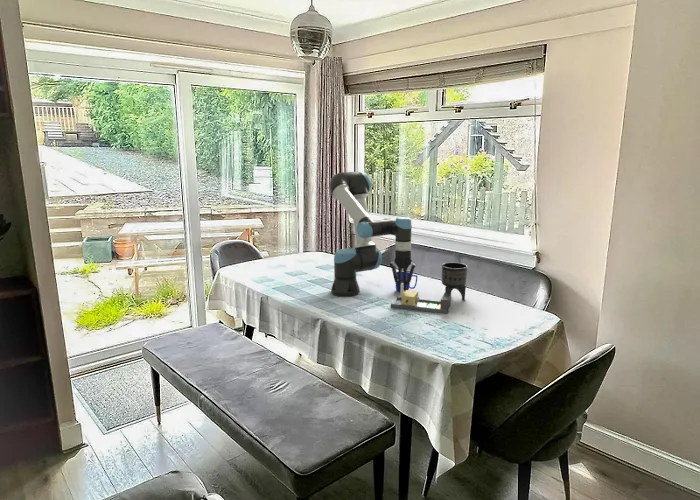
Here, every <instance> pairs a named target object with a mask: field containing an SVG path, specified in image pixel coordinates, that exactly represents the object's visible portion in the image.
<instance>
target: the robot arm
mask: <svg viewBox="0 0 700 500" xmlns="http://www.w3.org/2000/svg"><path fill="white" fill-rule="evenodd" d="M371 181H372V180H371V178H370V176H369V174H367V173H366V172H365V171H357V170H356V171H348V172H347V171H345V172H344V171H343V172H338V173H336V174H334V175H333V176H332V177H331V179H330V181H329V186H328V189H329V192H330V194H331V196H332V197H333V198H334V200H336V201H338V202H339V203H340V205H341V206H342V207H343V208H344V210H345V211H346V212H347V214H348V215H349V217H350V218H351V219H352V220H353V226H354V227H353V229H354V234H355V241H356V245H354V248H352V247H349V248H347V247H345V248H341V249H338V250H336V251H335V253H334V255H333V257H334V258H333V262H334V265H333V267H334V273H333V274H334V275H333V276H334V279H333V283H332V286H331V289H330V290H331V292H330V293H331V294H332V295H333V296H336V297H345V298H347V297H349V298H350V297H354V296H358V295H359V294H360V285H359V282H358V279H357V273H361V272H367V271H373V270H376V269H378V268H379V267H380V266H381V263H382V259H383V255H382V251H381V250H380V248H378V247H377V245H376V243H374V241H373V237H382V236H390V235H391V236H395V238H394V239H395V241H394V242H395V243H394V245H395V248H394V249H395V250H394V254H395V255H394V256H395V257H394V259H393V261H391V262H390V263H389V266H390V267H391V270H392V275H393V279H394V283H395V282H397V283H398V284H399V287H398V289H399V290H400V292H399V293H400V296H399V297H402V295H403V294H404V292H405V291H406V289H407V284H409V283H410V284H411V282H412V277H413V276H412V275H414V270H415V268H416V266H417V264H416V263H414V262H413V260H412V227H413V226H412V225H413V224H412V219H411V218H410V217H407V216H398V217H396V218H395V219H392V218H390V217H389V218H383V219H381V220H374V219H372V217H370V216H369V210H368V203H367V198H368V196H369V192H370V191H371V188H372V182H371ZM396 266H397V268H396ZM409 266H410V270H409V277H408V281H407V272H408V268H409ZM397 269H398V271H397ZM402 271H404V281H403V283H402ZM397 272H398V276H397Z"/></svg>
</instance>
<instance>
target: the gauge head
mask: <svg viewBox="0 0 700 500" xmlns="http://www.w3.org/2000/svg"><path fill="white" fill-rule="evenodd" d="M419 299H420V297H419V291H418V290H412V289H409V290H406V291H405V292H404V294H403V295H402V305H411V306H415V304H416V303H417V302H418V301H419Z"/></svg>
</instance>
